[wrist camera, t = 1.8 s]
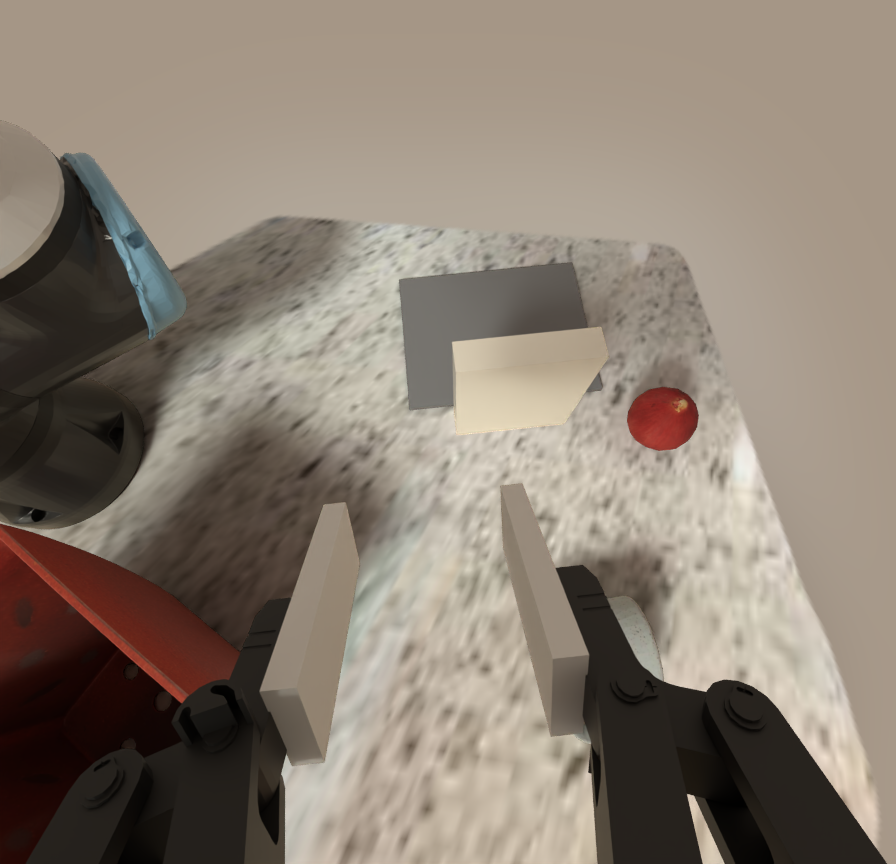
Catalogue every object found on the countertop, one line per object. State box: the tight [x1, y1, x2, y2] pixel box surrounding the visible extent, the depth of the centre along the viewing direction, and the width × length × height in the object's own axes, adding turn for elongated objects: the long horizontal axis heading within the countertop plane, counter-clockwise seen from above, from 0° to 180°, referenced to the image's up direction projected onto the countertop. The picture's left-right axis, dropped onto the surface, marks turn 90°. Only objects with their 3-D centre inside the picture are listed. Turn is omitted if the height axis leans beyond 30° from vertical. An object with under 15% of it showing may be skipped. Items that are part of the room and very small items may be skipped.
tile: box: [452, 327, 609, 435], centre depth 38 cm, size 11×3×14 cm, turn 96°
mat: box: [399, 263, 602, 410], centre depth 48 cm, size 16×20×1 cm
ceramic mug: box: [572, 596, 664, 744], centre depth 34 cm, size 11×8×8 cm
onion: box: [627, 387, 699, 451], centre depth 40 cm, size 6×6×8 cm
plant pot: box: [0, 524, 240, 864], centre depth 29 cm, size 19×19×17 cm
